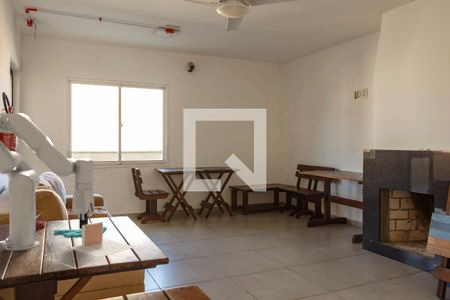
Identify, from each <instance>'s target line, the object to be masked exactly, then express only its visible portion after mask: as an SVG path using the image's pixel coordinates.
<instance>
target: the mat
mask: <svg viewBox="0 0 450 300" xmlns="http://www.w3.org/2000/svg"><path fill="white" fill-rule="evenodd" d="M133 248H135V246H134V245H129V244H127V243H122V242H120V241H119V242H118V241H116V240H115V241H114V240H111V239H108V238H104V239H103V243H99V244H95V245H91V246H87V247H82V244H80V245H79V244H78V245H75V246H72V247H69V249H71V250H74V251H77V252H80V253H83V254H86V255H89V256H91V257H94V258H98V259H99V258H102V257H105V256H109V255H113V254H116V253H120V252H122V251H126V250H130V249H133Z"/></svg>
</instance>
